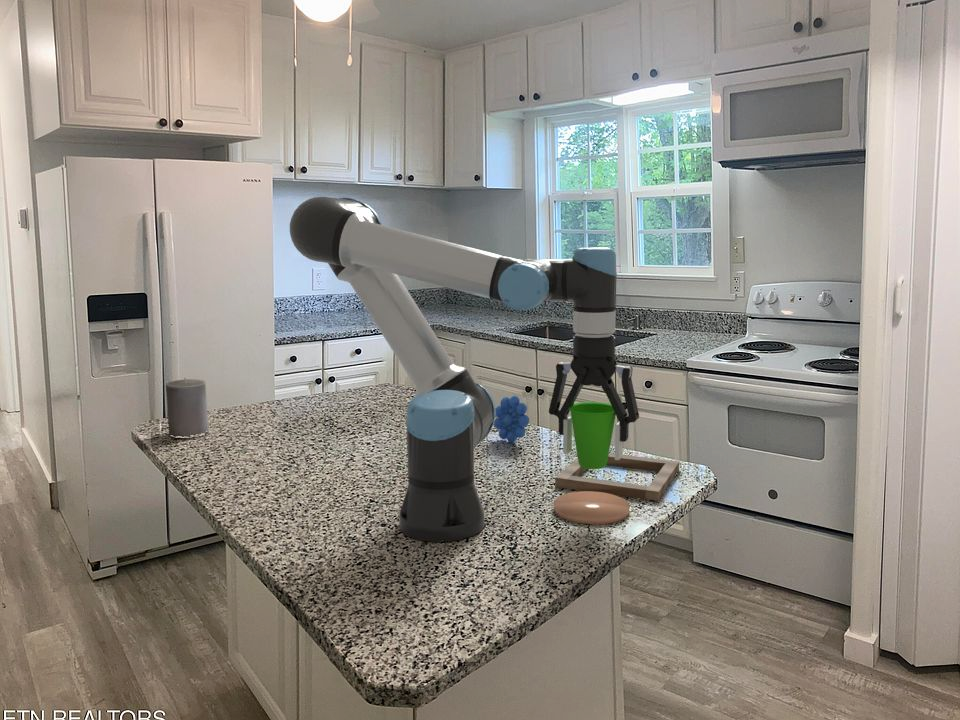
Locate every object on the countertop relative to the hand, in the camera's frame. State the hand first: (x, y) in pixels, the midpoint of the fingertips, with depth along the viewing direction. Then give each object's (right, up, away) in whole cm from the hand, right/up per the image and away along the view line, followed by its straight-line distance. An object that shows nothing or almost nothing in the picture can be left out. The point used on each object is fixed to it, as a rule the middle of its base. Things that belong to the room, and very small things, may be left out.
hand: (592, 454), depth 141 cm
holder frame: (+8, -7, +20) cm, 23 cm away
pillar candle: (-96, -2, +57) cm, 112 cm away
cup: (0, -2, 0) cm, 2 cm away
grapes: (-12, -3, +48) cm, 50 cm away
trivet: (0, -11, +2) cm, 11 cm away
